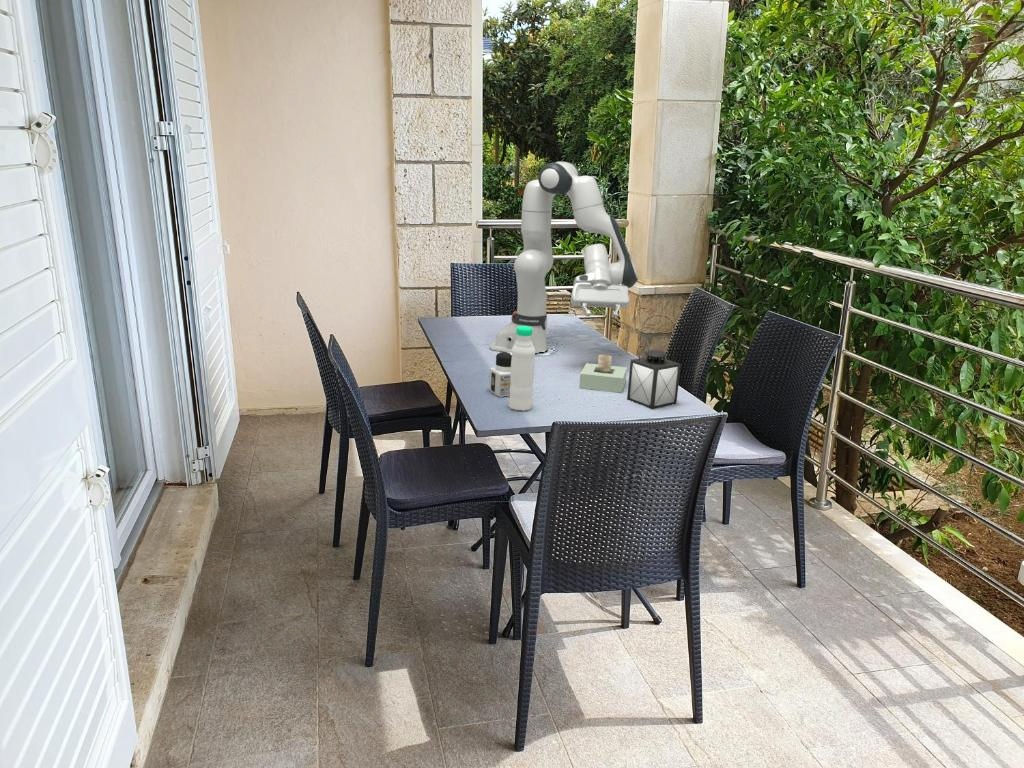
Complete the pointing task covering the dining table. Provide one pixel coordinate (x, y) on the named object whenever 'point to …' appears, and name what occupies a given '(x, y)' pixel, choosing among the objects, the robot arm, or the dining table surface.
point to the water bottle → (522, 370)
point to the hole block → (603, 378)
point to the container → (501, 375)
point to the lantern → (653, 379)
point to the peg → (604, 364)
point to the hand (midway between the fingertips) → (601, 316)
